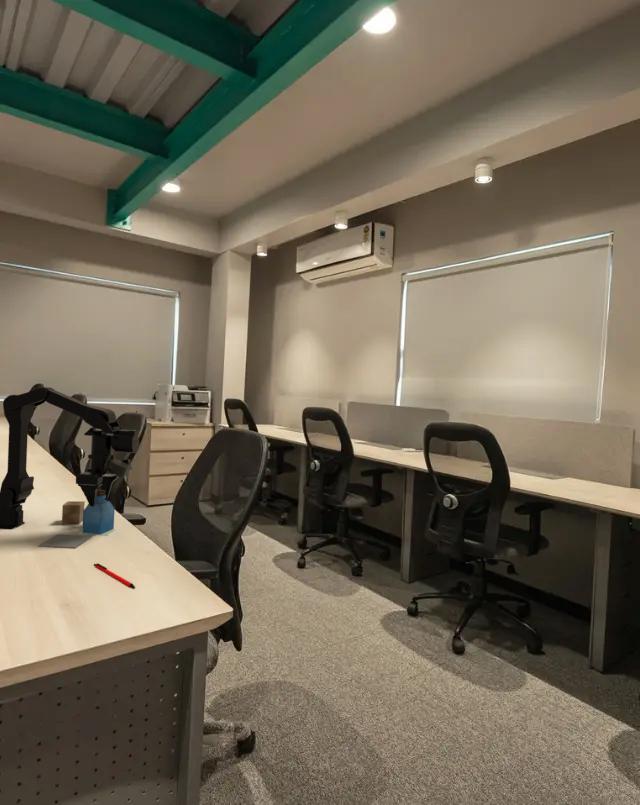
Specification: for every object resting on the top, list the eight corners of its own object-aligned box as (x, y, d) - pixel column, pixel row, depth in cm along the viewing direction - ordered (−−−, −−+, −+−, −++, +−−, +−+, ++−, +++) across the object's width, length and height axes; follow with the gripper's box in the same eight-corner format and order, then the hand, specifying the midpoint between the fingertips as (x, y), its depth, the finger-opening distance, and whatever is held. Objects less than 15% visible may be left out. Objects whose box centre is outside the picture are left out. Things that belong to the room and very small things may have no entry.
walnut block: (61, 524, 151) (62, 505, 151) (67, 519, 156) (67, 501, 156) (79, 524, 152) (80, 505, 152) (83, 519, 157) (84, 501, 157)
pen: (96, 565, 121) (96, 561, 121) (137, 589, 109) (137, 584, 109) (92, 566, 121) (92, 562, 120) (133, 590, 108) (133, 585, 108)
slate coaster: (38, 546, 131) (38, 545, 131) (57, 535, 141) (57, 534, 141) (75, 548, 131) (75, 547, 131) (92, 537, 141) (92, 535, 141)
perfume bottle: (100, 534, 144) (102, 494, 143) (82, 532, 145) (83, 492, 144) (113, 528, 150) (115, 490, 149) (95, 526, 151) (97, 488, 151)
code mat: (75, 534, 143) (75, 534, 143) (90, 526, 152) (90, 525, 152) (106, 536, 143) (106, 535, 143) (119, 527, 152) (119, 527, 152)
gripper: (115, 457, 137) (113, 511, 138) (139, 448, 156) (137, 497, 156) (76, 454, 137) (73, 509, 138) (104, 446, 156) (102, 495, 156)
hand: (99, 502), depth 147 cm, fingers open, 9 cm apart
